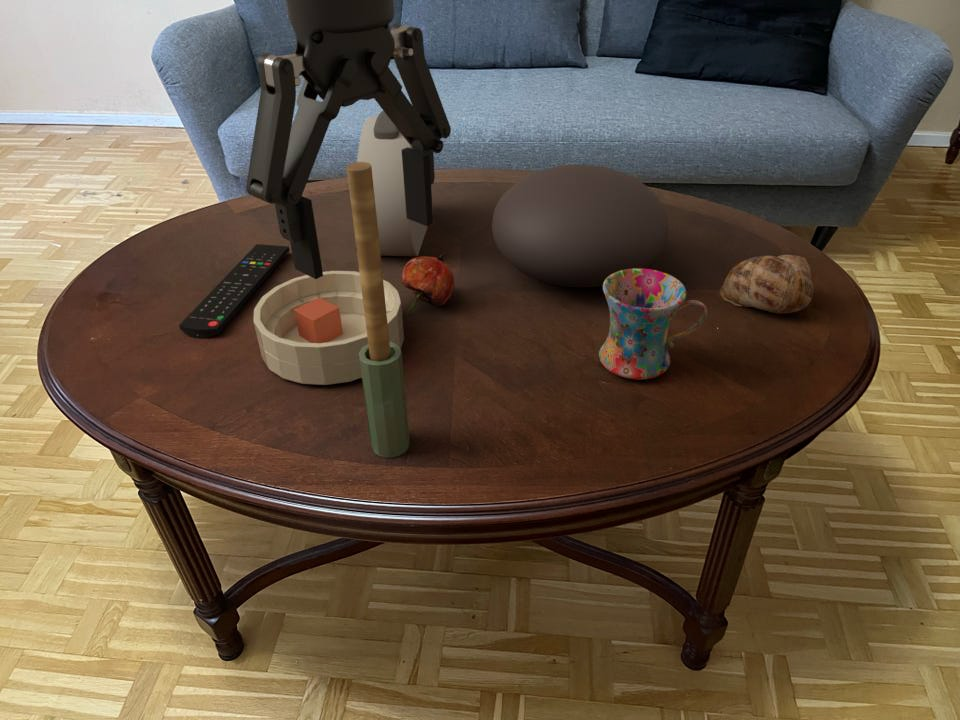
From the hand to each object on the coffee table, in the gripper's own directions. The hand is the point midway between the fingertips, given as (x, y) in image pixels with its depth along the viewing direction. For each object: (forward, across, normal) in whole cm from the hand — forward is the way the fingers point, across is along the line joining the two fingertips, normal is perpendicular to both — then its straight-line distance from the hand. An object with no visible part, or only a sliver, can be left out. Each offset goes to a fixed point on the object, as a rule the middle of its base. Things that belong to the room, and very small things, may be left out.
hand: (367, 245), depth 62 cm
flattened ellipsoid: (+24, -44, -7) cm, 50 cm away
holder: (+23, 0, 0) cm, 23 cm away
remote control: (+24, -8, -40) cm, 47 cm away
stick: (+23, 0, 0) cm, 23 cm away
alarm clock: (+24, -35, -35) cm, 55 cm away
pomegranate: (+24, -23, -17) cm, 37 cm away
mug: (+24, -30, +13) cm, 40 cm away
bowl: (+23, -8, -19) cm, 31 cm away
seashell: (+24, -53, +18) cm, 61 cm away
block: (+23, -8, -22) cm, 32 cm away
